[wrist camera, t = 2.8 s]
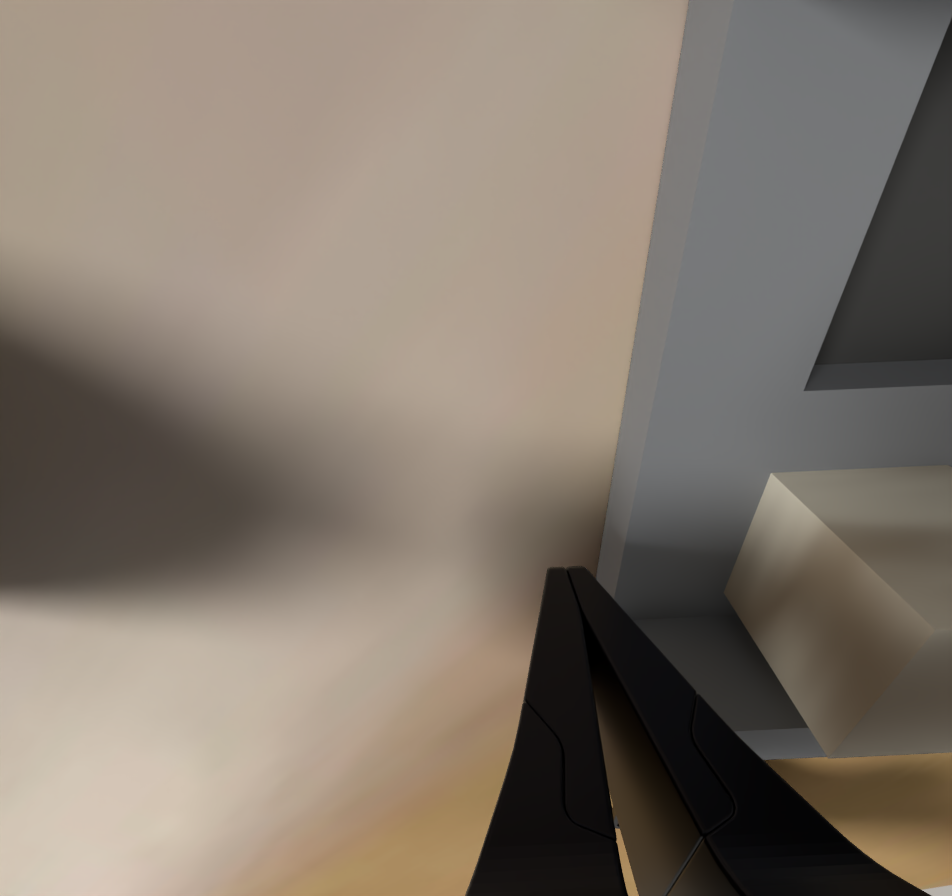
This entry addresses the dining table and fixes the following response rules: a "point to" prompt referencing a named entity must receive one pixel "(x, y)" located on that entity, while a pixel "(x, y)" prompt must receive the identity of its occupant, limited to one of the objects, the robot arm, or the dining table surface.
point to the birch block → (855, 604)
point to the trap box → (781, 310)
